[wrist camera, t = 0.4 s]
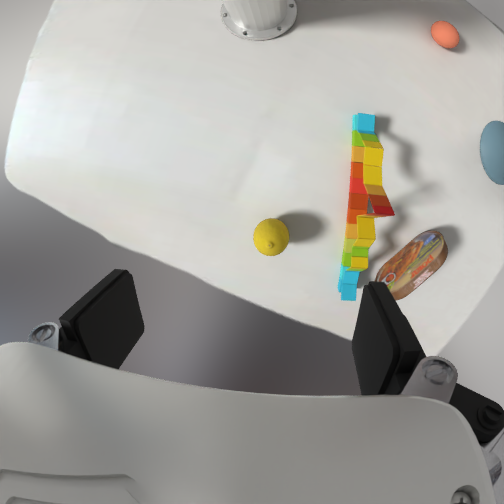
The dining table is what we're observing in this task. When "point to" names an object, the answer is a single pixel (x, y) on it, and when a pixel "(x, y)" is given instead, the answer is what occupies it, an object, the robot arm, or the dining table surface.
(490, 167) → the disc
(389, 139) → the dining table surface
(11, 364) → the robot arm
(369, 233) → the chart
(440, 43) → the ball
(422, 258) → the tin
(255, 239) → the lemon
